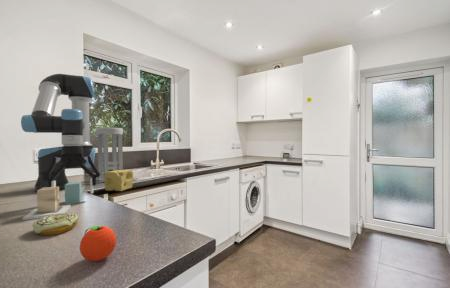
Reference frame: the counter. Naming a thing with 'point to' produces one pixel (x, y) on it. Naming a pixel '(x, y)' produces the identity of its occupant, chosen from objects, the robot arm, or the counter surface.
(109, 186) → the cheese
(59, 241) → the counter surface
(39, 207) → the birch block
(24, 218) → the blueprint board
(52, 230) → the decorated donut
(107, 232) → the tomato
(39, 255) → the counter surface
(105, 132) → the stool
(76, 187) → the teal block
